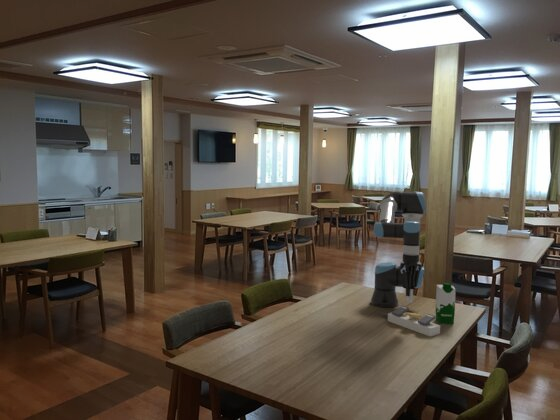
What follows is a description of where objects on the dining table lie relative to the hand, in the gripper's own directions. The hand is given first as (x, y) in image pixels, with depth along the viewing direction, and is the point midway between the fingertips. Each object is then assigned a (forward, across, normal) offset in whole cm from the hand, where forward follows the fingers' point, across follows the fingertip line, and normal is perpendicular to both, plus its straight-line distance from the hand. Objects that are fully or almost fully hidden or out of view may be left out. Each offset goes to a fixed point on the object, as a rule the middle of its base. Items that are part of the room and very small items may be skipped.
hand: (409, 302), depth 225 cm
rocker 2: (+7, -3, 0) cm, 7 cm away
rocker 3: (+7, -3, +8) cm, 11 cm away
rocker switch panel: (+13, -3, -4) cm, 14 cm away
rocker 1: (+7, -3, -8) cm, 11 cm away
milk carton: (+13, -24, +3) cm, 27 cm away
